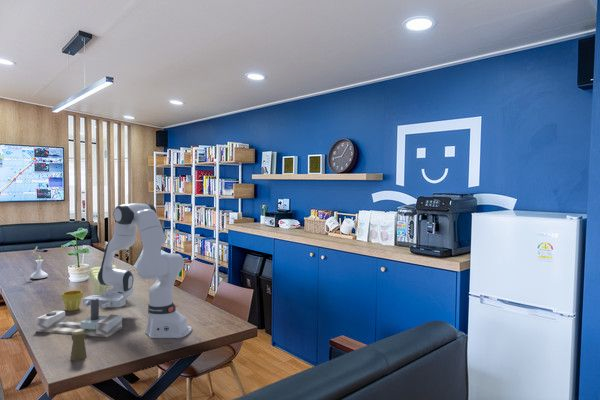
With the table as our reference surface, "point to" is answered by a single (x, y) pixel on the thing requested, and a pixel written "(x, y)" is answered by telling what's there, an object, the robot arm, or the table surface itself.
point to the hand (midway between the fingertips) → (93, 305)
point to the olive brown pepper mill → (78, 346)
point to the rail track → (77, 325)
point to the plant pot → (72, 299)
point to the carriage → (93, 316)
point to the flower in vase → (38, 268)
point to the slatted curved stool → (97, 286)
